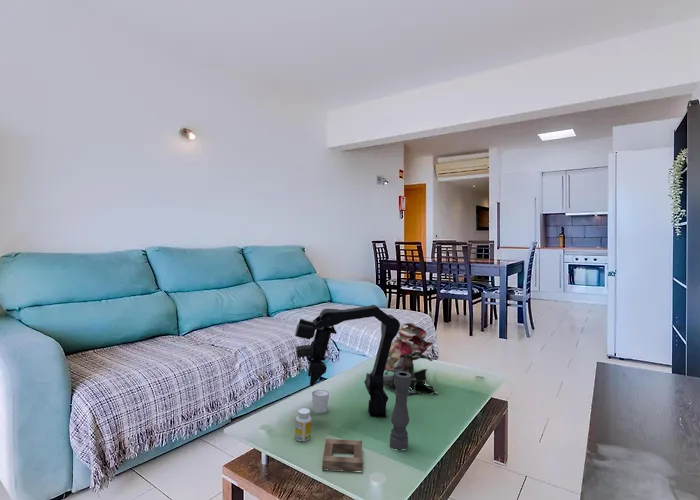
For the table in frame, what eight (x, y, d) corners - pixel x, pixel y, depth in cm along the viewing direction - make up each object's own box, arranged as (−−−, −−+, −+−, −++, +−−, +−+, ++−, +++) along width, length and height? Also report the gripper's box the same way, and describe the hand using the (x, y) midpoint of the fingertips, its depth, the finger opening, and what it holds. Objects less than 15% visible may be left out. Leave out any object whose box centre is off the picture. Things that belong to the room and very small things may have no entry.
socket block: (361, 449, 127) (361, 440, 127) (361, 472, 115) (362, 463, 115) (325, 447, 128) (325, 438, 127) (322, 470, 116) (322, 460, 115)
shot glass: (326, 415, 149) (326, 397, 149) (309, 412, 150) (309, 395, 150) (330, 407, 156) (331, 390, 155) (314, 405, 157) (314, 388, 157)
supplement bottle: (295, 442, 130) (296, 414, 129) (294, 433, 135) (295, 407, 134) (311, 441, 131) (312, 414, 130) (309, 433, 136) (311, 406, 135)
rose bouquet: (412, 371, 201) (415, 314, 199) (444, 395, 173) (448, 329, 171) (367, 375, 192) (370, 316, 190) (393, 401, 164) (397, 332, 162)
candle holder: (387, 440, 134) (392, 370, 132) (405, 440, 134) (409, 370, 133) (391, 451, 127) (395, 377, 126) (409, 451, 128) (414, 378, 126)
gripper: (299, 330, 154) (289, 367, 155) (301, 345, 136) (290, 387, 136) (325, 336, 157) (315, 373, 157) (331, 351, 138) (320, 393, 139)
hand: (310, 380), depth 147 cm, fingers open, 9 cm apart
